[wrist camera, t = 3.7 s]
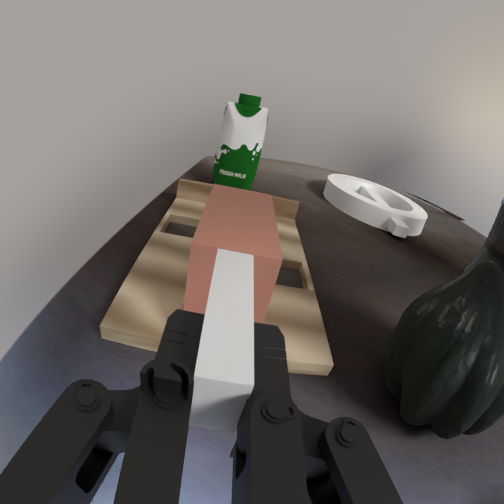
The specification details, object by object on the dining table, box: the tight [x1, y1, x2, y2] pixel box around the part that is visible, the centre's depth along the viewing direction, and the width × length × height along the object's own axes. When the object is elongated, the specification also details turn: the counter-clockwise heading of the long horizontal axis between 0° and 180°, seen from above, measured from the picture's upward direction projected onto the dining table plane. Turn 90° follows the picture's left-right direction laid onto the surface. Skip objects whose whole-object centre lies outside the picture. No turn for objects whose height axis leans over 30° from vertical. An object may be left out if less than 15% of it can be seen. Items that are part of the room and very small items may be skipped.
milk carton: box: [213, 94, 268, 191], centre depth 59 cm, size 9×9×20 cm
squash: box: [385, 261, 504, 439], centre depth 22 cm, size 14×15×15 cm
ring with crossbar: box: [323, 174, 428, 238], centre depth 75 cm, size 28×28×5 cm
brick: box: [184, 184, 283, 323], centre depth 28 cm, size 13×6×9 cm, turn 0°
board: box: [100, 179, 334, 376], centre depth 37 cm, size 32×20×4 cm, turn 0°
